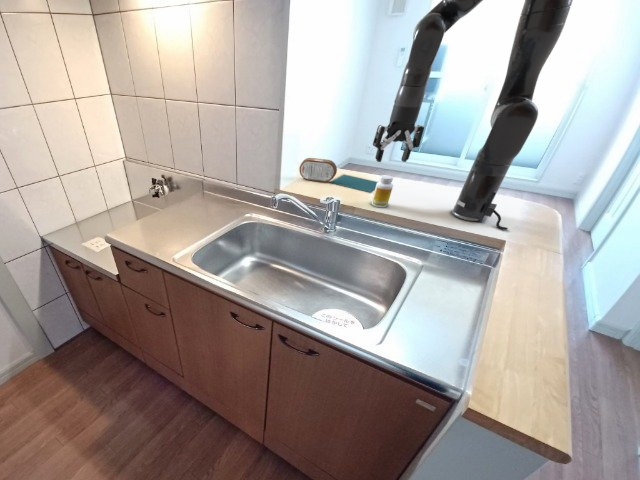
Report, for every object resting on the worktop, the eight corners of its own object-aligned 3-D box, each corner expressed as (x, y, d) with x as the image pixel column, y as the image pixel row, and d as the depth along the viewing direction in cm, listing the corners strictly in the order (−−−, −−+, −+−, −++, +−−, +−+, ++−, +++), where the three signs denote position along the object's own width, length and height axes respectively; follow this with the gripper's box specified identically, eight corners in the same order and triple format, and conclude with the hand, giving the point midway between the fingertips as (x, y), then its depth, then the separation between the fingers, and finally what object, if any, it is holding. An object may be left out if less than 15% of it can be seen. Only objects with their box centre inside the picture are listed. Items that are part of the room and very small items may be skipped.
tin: (335, 181, 133) (338, 160, 128) (333, 183, 131) (337, 162, 125) (299, 177, 138) (301, 156, 133) (297, 179, 136) (299, 158, 130)
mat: (382, 183, 132) (382, 183, 131) (369, 192, 124) (369, 191, 124) (344, 175, 140) (344, 174, 140) (329, 182, 132) (329, 182, 132)
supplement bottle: (389, 207, 112) (397, 179, 106) (373, 207, 112) (381, 179, 106) (384, 201, 116) (392, 174, 110) (369, 201, 116) (376, 174, 110)
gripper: (390, 105, 92) (374, 165, 102) (437, 105, 93) (417, 164, 103) (379, 101, 98) (365, 158, 108) (424, 101, 99) (406, 157, 109)
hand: (391, 161), depth 105 cm, fingers open, 8 cm apart
